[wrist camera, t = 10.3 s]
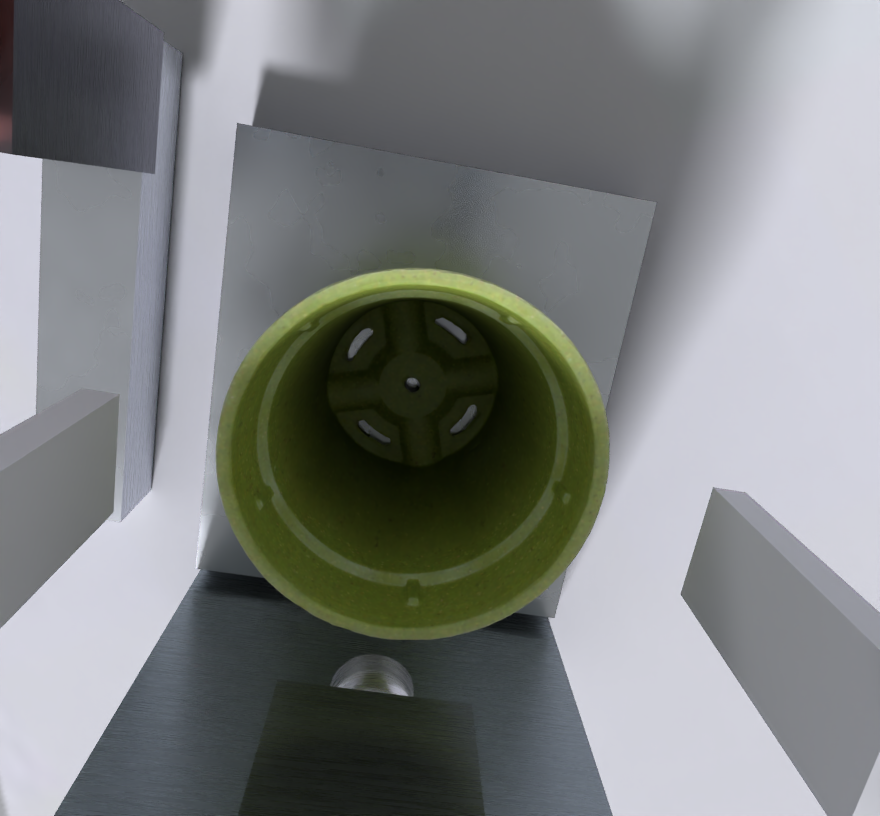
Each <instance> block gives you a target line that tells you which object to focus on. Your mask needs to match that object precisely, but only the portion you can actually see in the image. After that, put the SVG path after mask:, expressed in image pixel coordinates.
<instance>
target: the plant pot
mask: <svg viewBox="0 0 880 816" xmlns="http://www.w3.org/2000/svg"><path fill="white" fill-rule="evenodd" d="M440 318H444V319H446V320H448V321H450V322H452V323H453V324H454V325H455V326H457V327H458V328H460V329H462V331H463V332H464V333H466V337H467V342H466V344H462V343H461V342H460V341H459V340H458V339H457V338H456V337H454V336H453V335H452V334H451V333H450V332H448V331H447V330H445V329H444V328H442V327H440V326H439V325H437V324H436V323H435V320H436V319H440ZM367 328H370V329H371V330H372V331H373V335H372V336H371V337H370V338H369V339H368V340H367V341H366V342H365V343H364V344H363V345H362V346H361V348H360V349H359V350H358V352H357V354H356V355H354V358H353V360H352V361H348V356H347V355H348V351H349V349H350V346H351V344H352V342H353V340H354V339H355V337H356V336H357V335H358V334H359V333H360V332H361V331H362V330H364V329H367ZM408 378H415V379H416V380H418V382H419V384H420V387H419V389H418V390H417V391H415V392H411V391H409V390H408V389H407V388H406V386H405V382H406V380H407V379H408ZM471 405H475V406H476V408H477V411H476V416H475V418H474V419H473V421H472V422H471V423H470V424H469V425H468V426H467V428H466V429H465V430H464V431H462V432H461V433H459V434H457V435H451V434H450V430H451V429H452V428H453V427H454V426H455V424H456V423H458V422H459V421H460V420H461V419H462V418H463V416H464V415H465V413H466V412H467V409H468V408H469V407H470V406H471ZM362 420H364V421H365V422H367V424H368V425H370V426H371V427H372V428H373V429H375V430H376V431H377V432H379V433H380V434H382V435H383V436H385V437H387V438H390V442H391V443H390V444H387V445H382V444H381V443H379V442H378V441H376V440H375V439H373V438H371V437H368V436H366V435H365V434H364V433H363V432H362V431H361V429H360V428H359V427H358V424H359V421H362ZM608 469H609V428H608V422H607V417H606V411H605V407H604V404H603V400H602V396H601V393H600V391H599V388H598V385H597V383H596V381H595V379H594V377H593V375H592V373H591V370H590V368H589V367H588V365H587V363H586V361H585V360H584V358H583V357H582V355H581V353H580V352H579V351H578V349H577V348H576V346H575V345H574V344H573V342H572V341H571V340H570V339H569V338H568V337H567V335H566V334H565V333H564V332H563V331H562V330H561V329H560V328H559V327H558V326H557V325H556V324H555V323H554V322H553V321H552V320H551V319H550V318H549V317H548V316H546V315H545V314H544V313H543V312H542V311H541V310H539V309H538V308H536V307H535V306H533V305H532V304H531V303H529V302H528V301H526V300H525V299H523V298H522V297H520V296H518V295H516V294H515V293H513V292H511V291H509V290H507V289H505V288H503V287H501V286H498V285H496V284H494V283H491V282H489V281H486V280H483V279H480V278H477V277H474V276H470V275H467V274H462V273H458V272H453V271H447V270H441V269H431V268H395V269H386V270H380V271H374V272H369V273H364V274H361V275H357V276H353V277H350V278H347V279H344V280H341V281H338V282H335V283H333V284H330V285H328V286H326V287H324V288H322V289H320V290H318V291H317V292H315V293H313V294H311V295H310V296H308V297H306V298H305V299H303V300H301V301H300V302H299V303H297V304H296V305H294V306H293V307H292V308H290V309H289V310H288V311H287V312H285V313H284V314H283V315H282V316H281V317H280V318H279V319H277V320H276V321H275V322H274V323H273V324H272V325H271V326H270V327H269V328H268V329H267V330H266V331H265V332H264V333H263V334H262V335H261V336H260V338H259V339H258V340H257V341H256V342H255V344H254V345H253V346H252V348H251V349H250V350H249V352H248V353H247V355H246V356H245V358H244V359H243V361H242V363H241V365H240V366H239V368H238V370H237V372H236V373H235V375H234V377H233V379H232V382H231V384H230V386H229V388H228V391H227V394H226V397H225V400H224V403H223V407H222V411H221V415H220V420H219V426H218V432H217V441H216V474H217V481H218V487H219V492H220V496H221V500H222V504H223V507H224V511H225V514H226V517H227V519H228V521H229V523H230V526H231V528H232V530H233V532H234V534H235V536H236V538H237V539H238V541H239V543H240V545H241V546H242V548H243V549H244V551H245V553H246V554H247V556H248V557H249V559H250V560H251V561H252V563H253V564H254V565H255V567H256V568H257V569H258V571H259V572H260V573H261V574H262V576H263V577H264V578H265V579H266V580H267V581H268V582H269V583H270V584H271V585H272V586H273V587H274V588H275V589H276V590H278V591H279V592H280V593H281V594H282V595H284V596H285V597H286V598H288V599H289V600H291V601H292V602H293V603H295V604H296V605H298V606H300V607H302V608H303V609H305V610H306V611H308V612H309V613H310V614H312V615H314V616H315V617H317V618H320V619H322V620H324V621H326V622H328V623H330V624H332V625H335V626H338V627H342V628H345V629H348V630H351V631H353V632H356V633H359V634H363V635H367V636H371V637H377V638H383V639H389V640H431V639H440V638H446V637H452V636H456V635H460V634H464V633H468V632H471V631H474V630H478V629H481V628H484V627H487V626H489V625H491V624H493V623H495V622H497V621H500V620H502V619H504V618H506V617H508V616H510V615H512V614H513V613H515V612H517V611H518V610H520V609H521V608H523V607H525V606H526V605H527V604H529V603H530V602H532V601H533V600H534V599H536V598H537V597H538V596H540V595H541V594H542V593H543V592H544V591H545V590H547V589H548V588H549V587H550V585H551V584H552V583H553V582H554V581H555V580H556V579H557V578H558V577H559V576H560V575H561V574H562V573H563V572H564V571H565V570H566V568H567V567H568V566H569V564H570V563H571V562H572V561H573V559H574V558H575V557H576V555H577V554H578V552H579V551H580V549H581V548H582V546H583V544H584V543H585V541H586V539H587V537H588V536H589V534H590V532H591V530H592V528H593V525H594V523H595V520H596V518H597V515H598V512H599V509H600V506H601V503H602V500H603V497H604V493H605V488H606V484H607V478H608Z"/></svg>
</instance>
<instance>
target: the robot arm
mask: <svg viewBox="0 0 880 816" xmlns="http://www.w3.org/2000/svg"><path fill="white" fill-rule="evenodd" d="M119 395H120V394H115V393H109V392H103V391H96V390H90V389H83V388H82V389H80V390H79V391H77V392H75V393H73V394H71V395H70V396H68V397H66V398H64V399H63V400H61V401H59V402H57V403H55V404H54V405H52V406H50V407H48V408H47V409H45V410H43V411H41V412H39V413H38V414H36V415H34V416H32V417H31V418H29V419H27V420H25V421H23V422H22V423H20V424H18V425H16V426H14V427H13V428H11V429H9V430H7V431H6V432H4V433H2V434H0V628H1V627H2V626H3V625H4V624H5V623H6V622H7V621H8V620H9V619H10V618H11V617H12V616H13V615H14V614H15V613H16V612H17V611H18V610H19V609H20V608H21V607H22V606H23V605H24V604H25V603H26V602H27V601H28V600H29V599H30V598H31V596H32V595H33V594H34V593H35V592H36V591H37V590H38V589H39V588H40V587H41V586H42V585H43V584H44V583H45V582H46V581H47V580H48V579H49V578H50V577H51V576H52V575H53V574H54V573H55V572H56V571H57V570H58V569H59V568H60V567H61V566H62V565H63V564H64V563H65V562H66V561H67V560H68V559H69V558H70V556H71V555H72V554H73V553H74V552H75V551H76V550H77V549H78V548H79V547H80V546H81V545H82V544H83V543H84V542H85V541H86V540H87V539H88V538H89V537H90V536H91V535H92V534H93V533H94V532H95V531H96V530H97V529H98V528H99V527H100V526H101V525H102V524H103V523H104V522H105V521H106V520H107V519H108V518H109V516H110V515H111V514H112V513H113V512H114V492H115V473H116V453H117V434H118V414H119ZM681 596H682V597H683V599H684V600H685V602H686V603H687V605H688V606H689V608H690V609H691V611H692V612H693V614H694V615H695V617H696V618H697V620H698V621H699V623H700V624H701V626H702V627H703V629H704V630H705V632H706V633H707V635H708V636H709V638H710V639H711V641H712V642H713V644H714V645H715V647H716V648H717V650H718V651H719V653H720V654H721V656H722V657H723V659H724V660H725V662H726V663H727V665H728V667H729V668H730V670H731V671H732V673H733V674H734V676H735V677H736V679H737V680H738V682H739V683H740V685H741V686H742V688H743V689H744V691H745V692H746V694H747V695H748V697H749V698H750V700H751V701H752V703H753V704H754V706H755V707H756V709H757V710H758V712H759V713H760V715H761V716H762V718H763V719H764V721H765V722H766V724H767V725H768V727H769V728H770V730H771V731H772V733H773V734H774V736H775V737H776V739H777V740H778V742H779V743H780V745H781V746H782V748H783V749H784V751H785V752H786V754H787V755H788V757H789V758H790V760H791V761H792V763H793V765H794V766H795V768H796V769H797V771H798V772H799V774H800V775H801V777H802V778H803V780H804V781H805V783H806V784H807V786H808V787H809V789H810V790H811V792H812V793H813V795H814V796H815V798H816V799H817V801H818V802H819V804H820V805H821V807H822V808H823V810H824V811H825V813H826V814H827V816H880V612H878V611H877V610H876V609H875V608H874V607H873V606H872V605H871V604H869V603H868V602H867V601H866V600H865V599H864V598H863V597H862V596H861V595H859V594H858V593H857V592H856V591H855V590H854V589H853V588H852V587H851V586H849V585H848V584H847V583H846V582H845V581H844V580H843V579H842V578H840V577H839V576H838V575H837V574H836V573H835V572H834V571H833V570H832V569H830V568H829V567H828V566H827V565H826V564H825V563H824V562H823V561H822V560H820V559H819V558H818V557H817V556H816V555H815V554H814V553H813V552H811V551H810V550H809V549H808V548H807V547H806V546H805V545H804V544H803V543H801V542H800V541H799V540H798V539H797V538H796V537H795V536H794V535H793V534H791V533H790V532H789V531H788V530H787V529H786V528H785V527H784V526H782V525H781V524H780V523H779V522H778V521H777V520H776V519H775V518H774V517H772V516H771V515H770V514H769V513H768V512H767V511H766V510H765V509H763V508H762V507H761V506H760V505H759V504H758V503H757V502H756V501H755V500H753V499H752V498H751V497H750V496H749V495H748V494H747V493H746V492H739V491H733V490H726V489H720V488H714V487H713V490H712V493H711V497H710V500H709V503H708V506H707V510H706V513H705V516H704V520H703V523H702V526H701V529H700V533H699V536H698V539H697V542H696V546H695V549H694V552H693V555H692V559H691V562H690V565H689V569H688V572H687V575H686V578H685V582H684V585H683V588H682V591H681Z"/></svg>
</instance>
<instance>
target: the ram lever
mask: <svg viewBox="0 0 880 816" xmlns="http://www.w3.org/2000/svg"><path fill="white" fill-rule="evenodd" d="M163 44H164V32H163V31H161V30H160V29H158V28H157V27H156V26H154V25H153V24H151V23H150V22H149V21H147V20H146V19H144V18H143V17H141V16H140V15H139V14H137V13H136V12H134V11H133V10H132V9H130V8H129V7H127V6H126V5H125V4H123V3H122V2H120V1H119V0H0V152H2V153H8V154H14V155H21V156H28V157H35V158H42V159H49V160H57V161H64V162H71V163H78V164H85V165H92V166H99V167H106V168H114V169H121V170H128V171H135V172H142V173H149V174H155V166H156V150H157V135H158V120H159V105H160V90H161V74H162V59H163Z"/></svg>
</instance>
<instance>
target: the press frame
mask: <svg viewBox="0 0 880 816" xmlns="http://www.w3.org/2000/svg"><path fill="white" fill-rule="evenodd" d="M182 56H183V53H181V52H180V51H178V50H177V49H175V48H174V47H172V46H171V45H169V44H168V43H166V42H165V41H164V44H163V59H162V74H161V90H160V105H159V120H158V135H157V150H156V166H155V174H149V173H142V172H135V171H128V170H121V169H114V168H106V167H99V166H92V165H85V164H78V163H71V162H64V161H57V160H49V159H43V162H42V201H41V240H40V278H39V317H38V356H37V395H36V414H38V413H39V412H41V411H43V410H45V409H47V408H48V407H50V406H52V405H54V404H55V403H57V402H59V401H61V400H63V399H64V398H66V397H68V396H70V395H71V394H73V393H75V392H77V391H79V390H80V389H82V388H83V389H90V390H96V391H103V392H109V393H115V394H120V395H119V414H118V434H117V453H116V473H115V492H114V512H113V513H112V514H111V515H110V516H109V518H108V519H107V520H108V521H115V522H121V521H122V520H123V519H124V518H125V517H126V516H127V515H128V514H129V513H130V512H131V511H132V510H133V509H134V507H135V506H136V505H137V504H138V503H139V502H140V501H141V500H142V499H143V498H144V497H145V496H146V495H147V494H148V493H149V492H150V491H151V483H152V469H153V455H154V441H155V428H156V414H157V400H158V386H159V372H160V359H161V345H162V331H163V317H164V304H165V290H166V276H167V262H168V249H169V235H170V221H171V207H172V193H173V180H174V166H175V152H176V138H177V125H178V111H179V97H180V83H181V70H182ZM656 204H657V202H653V201H648V200H642V199H637V198H632V197H627V196H621V195H616V194H611V193H605V192H600V191H595V190H589V189H584V188H579V187H574V186H568V185H563V184H558V183H552V182H547V181H542V180H536V179H531V178H526V177H520V176H515V175H510V174H505V173H499V172H494V171H489V170H483V169H478V168H473V167H467V166H462V165H457V164H452V163H446V162H441V161H436V160H430V159H425V158H420V157H414V156H409V155H404V154H399V153H393V152H388V151H383V150H377V149H372V148H367V147H361V146H356V145H351V144H345V143H340V142H335V141H330V140H324V139H319V138H314V137H308V136H303V135H298V134H292V133H287V132H282V131H277V130H271V129H266V128H261V127H255V126H250V125H245V124H239V123H237V130H236V140H235V151H234V162H233V172H232V183H231V194H230V205H229V215H228V226H227V237H226V247H225V258H224V269H223V280H222V290H221V301H220V312H219V322H218V333H217V344H216V355H215V365H214V376H213V387H212V397H211V408H210V419H209V429H208V440H207V451H206V462H205V472H204V483H203V494H202V504H201V515H200V526H199V537H198V547H197V558H196V569H201V570H200V572H199V573H198V575H197V577H196V578H195V580H194V582H193V583H192V585H191V587H190V588H189V590H188V592H187V593H186V595H185V597H184V598H183V600H182V602H181V604H180V605H179V607H178V609H177V610H176V612H175V614H174V615H173V617H172V619H171V620H170V622H169V624H168V625H167V627H166V629H165V630H164V632H163V634H162V635H161V637H160V639H159V640H158V642H157V644H156V645H155V647H154V649H153V650H152V652H151V654H150V656H149V657H148V659H147V661H146V662H145V664H144V666H143V667H142V669H141V671H140V672H139V674H138V676H137V677H136V679H135V681H134V682H133V684H132V686H131V687H130V689H129V691H128V692H127V694H126V696H125V697H124V699H123V701H122V702H121V704H120V706H119V708H118V709H117V711H116V713H115V714H114V716H113V718H112V719H111V721H110V723H109V724H108V726H107V728H106V729H105V731H104V733H103V734H102V736H101V738H100V739H99V741H98V743H97V744H96V746H95V748H94V749H93V751H92V753H91V754H90V756H89V758H88V760H87V761H86V763H85V765H84V766H83V768H82V770H81V771H80V773H79V775H78V776H77V778H76V780H75V781H74V783H73V785H72V786H71V788H70V790H69V791H68V793H67V795H66V796H65V798H64V800H63V801H62V803H61V805H60V806H59V808H58V810H57V812H56V813H55V815H54V816H613V815H612V812H611V809H610V806H609V803H608V800H607V797H606V794H605V790H604V787H603V784H602V781H601V778H600V775H599V772H598V769H597V766H596V763H595V760H594V757H593V754H592V751H591V748H590V745H589V742H588V739H587V735H586V732H585V729H584V726H583V723H582V720H581V717H580V714H579V711H578V708H577V705H576V702H575V699H574V696H573V693H572V690H571V687H570V684H569V680H568V677H567V674H566V671H565V668H564V665H563V662H562V659H561V656H560V653H559V650H558V647H557V644H556V641H555V638H554V635H553V632H552V629H551V626H550V622H549V619H548V617H551V618H554V617H555V613H556V609H557V605H558V601H559V597H560V593H561V589H562V585H563V581H564V577H565V573H566V570H565V571H564V572H563V573H562V574H561V575H560V576H559V577H558V578H557V579H556V580H555V581H554V582H553V583H552V584H551V585H550V587H549V588H548V589H547V590H545V591H544V592H543V593H542V594H541V595H540V596H538V597H537V598H536V599H534V600H533V601H532V602H530V603H529V604H527V605H526V606H525V607H523V608H521V609H520V610H518V611H517V612H515V613H513V614H512V615H510V616H508V617H506V618H504V619H502V620H500V621H497V622H495V623H493V624H491V625H489V626H487V627H484V628H481V629H478V630H474V631H471V632H468V633H464V634H460V635H456V636H452V637H446V638H440V639H431V640H389V639H383V638H377V637H371V636H367V635H363V634H359V633H356V632H353V631H351V630H348V629H345V628H342V627H338V626H335V625H332V624H330V623H328V622H326V621H324V620H322V619H320V618H317V617H315V616H314V615H312V614H310V613H309V612H308V611H306V610H305V609H303V608H302V607H300V606H298V605H296V604H295V603H293V602H292V601H291V600H289V599H288V598H286V597H285V596H284V595H282V594H281V593H280V592H279V591H278V590H276V589H275V588H274V587H273V586H272V585H271V584H270V583H269V582H268V581H267V580H266V579H265V578H264V577H263V576H262V574H261V573H260V572H259V571H258V569H257V568H256V567H255V565H254V564H253V563H252V561H251V560H250V559H249V557H248V556H247V554H246V553H245V551H244V549H243V548H242V546H241V545H240V543H239V541H238V539H237V538H236V536H235V534H234V532H233V530H232V528H231V526H230V523H229V521H228V519H227V517H226V514H225V511H224V507H223V504H222V500H221V496H220V492H219V487H218V481H217V474H216V441H217V432H218V426H219V420H220V415H221V411H222V407H223V403H224V400H225V397H226V394H227V391H228V388H229V386H230V384H231V382H232V379H233V377H234V375H235V373H236V372H237V370H238V368H239V366H240V365H241V363H242V361H243V359H244V358H245V356H246V355H247V353H248V352H249V350H250V349H251V348H252V346H253V345H254V344H255V342H256V341H257V340H258V339H259V338H260V336H261V335H262V334H263V333H264V332H265V331H266V330H267V329H268V328H269V327H270V326H271V325H272V324H273V323H274V322H275V321H276V320H277V319H279V318H280V317H281V316H282V315H283V314H284V313H285V312H287V311H288V310H289V309H290V308H292V307H293V306H294V305H296V304H297V303H299V302H300V301H301V300H303V299H305V298H306V297H308V296H310V295H311V294H313V293H315V292H317V291H318V290H320V289H322V288H324V287H326V286H328V285H330V284H333V283H335V282H338V281H341V280H344V279H347V278H350V277H353V276H357V275H361V274H364V273H369V272H374V271H380V270H386V269H395V268H431V269H441V270H447V271H453V272H458V273H462V274H467V275H470V276H474V277H477V278H480V279H483V280H486V281H489V282H491V283H494V284H496V285H498V286H501V287H503V288H505V289H507V290H509V291H511V292H513V293H515V294H516V295H518V296H520V297H522V298H523V299H525V300H526V301H528V302H529V303H531V304H532V305H533V306H535V307H536V308H538V309H539V310H541V311H542V312H543V313H544V314H545V315H546V316H548V317H549V318H550V319H551V320H552V321H553V322H554V323H555V324H556V325H557V326H558V327H559V328H560V329H561V330H562V331H563V332H564V333H565V334H566V335H567V337H568V338H569V339H570V340H571V341H572V342H573V344H574V345H575V346H576V348H577V349H578V351H579V352H580V353H581V355H582V357H583V358H584V360H585V361H586V363H587V365H588V367H589V368H590V370H591V373H592V375H593V377H594V379H595V381H596V383H597V385H598V388H599V391H600V393H601V396H602V400H603V404H604V407H605V411H606V407H607V403H608V399H609V395H610V391H611V387H612V382H613V378H614V374H615V370H616V366H617V362H618V358H619V354H620V350H621V346H622V342H623V338H624V334H625V330H626V326H627V322H628V318H629V314H630V310H631V306H632V301H633V297H634V293H635V289H636V285H637V281H638V277H639V273H640V269H641V265H642V261H643V257H644V253H645V249H646V245H647V241H648V237H649V233H650V229H651V224H652V220H653V216H654V212H655V208H656ZM435 323H436V324H437V325H439V326H440V327H442V328H444V329H445V330H447V331H448V332H450V333H451V334H452V335H453V336H454V337H456V338H457V339H458V340H459V341H460V342H461V343H462V344H466V342H467V337H466V333H464V332H463V331H462V329H460V328H458V327H457V326H455V325H454V324H453V323H452V322H450V321H448V320H446V319H444V318H440V319H436V320H435ZM372 335H373V331H372V330H371V329H370V328H367V329H364V330H362V331H361V332H360V333H359V334H358V335H357V336H356V337H355V339H354V340H353V342H352V344H351V346H350V349H349V351H348V355H347V356H348V361H352V360H353V358H354V355H356V354H357V352H358V350H359V349H360V348H361V346H362V345H363V344H364V343H365V342H366V341H367V340H368V339H369V338H370V337H371V336H372ZM405 386H406V388H407V389H408V390H409V391H411V392H415V391H417V390H418V389H419V387H420V384H419V382H418V380H416V379H415V378H408V379H407V380H406V382H405ZM476 411H477V408H476V406H475V405H471V406H470V407H469V408H468V409H467V412H466V413H465V415H464V416H463V418H462V419H461V420H460V421H459V422H458V423H456V424H455V426H454V427H453V428H452V429H451V430H450V434H451V435H457V434H459V433H461V432H462V431H464V430H465V429H466V428H467V426H468V425H469V424H470V423H471V422H472V421H473V419H474V418H475V416H476ZM358 427H359V428H360V429H361V431H362V432H363V433H364V434H365V435H366V436H368V437H371V438H373V439H375V440H376V441H378V442H379V443H381V444H382V445H387V444H390V443H391V442H390V438H387V437H385V436H383V435H382V434H380V433H379V432H377V431H376V430H375V429H373V428H372V427H371V426H370V425H368V424H367V422H365V421H364V420H362V421H359V424H358ZM566 569H567V568H566Z"/></svg>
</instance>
